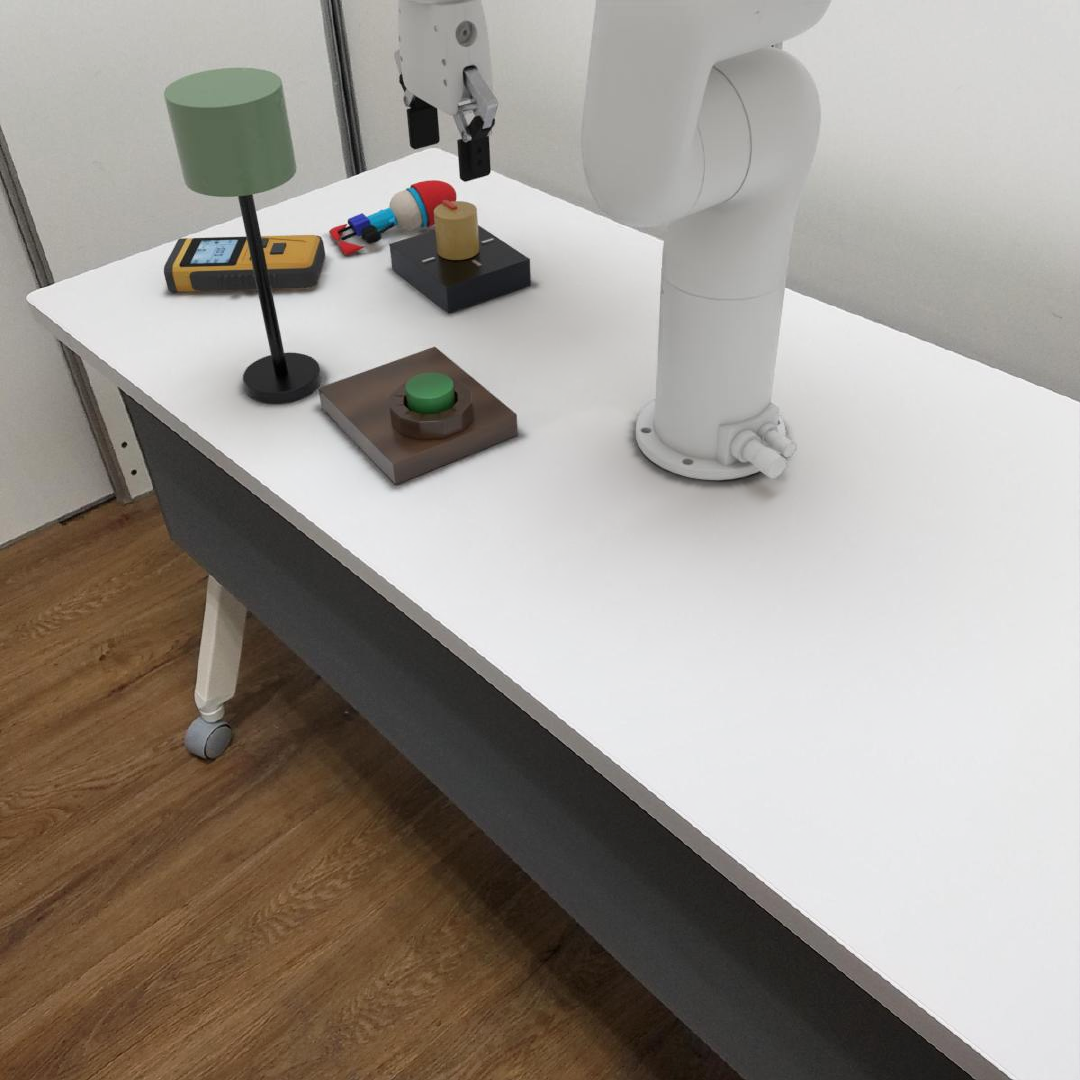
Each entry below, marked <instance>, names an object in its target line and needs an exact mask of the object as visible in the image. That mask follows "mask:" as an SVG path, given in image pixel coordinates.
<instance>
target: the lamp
mask: <svg viewBox="0 0 1080 1080" xmlns="http://www.w3.org/2000/svg"><path fill="white" fill-rule="evenodd" d="M163 98H164V102H165V105H166V109H167V114H168V119H169V122H170V127H171V131H172V135H173V138H174V139H173V140H174V144H175V148H176V151H177V156H178V160H179V164H180V168H181V172H182V173H181V174H182V177H183V181H184V184H185V185H186V187H187V188H188V189H189V190H191V191H192V192H195V193H197V194H200V195H203V196H209V197H216V198H234V197H237V199H238V204H239V208H240V212H241V217H242V222H243V227H244V232H245V237H247V242H248V247H249V252H250V256H251V261H252V266H253V271H254V276H255V280H256V285H257V290H256V291H257V294H258V300H259V303H260V308H261V314H262V318H263V323H264V328H265V333H266V337H267V342H268V347H269V351H270V352H269V353H270V354H269V355H266V356H263V357H261V358H258V359H257V360H254V362H251V363H250V364H249V365H248V366H247V367H246V368H245V370H244V372H243V375H242V381H243V385H244V390H245V392H246V394H247V395H248V396H249V397H250V398H251V399H253V400H255V401H256V402H260V403H263V404H269V405H270V404H271V405H276V404H277V405H278V404H279V405H280V404H287V403H288V404H289V403H293V402H296V401H300V400H301V399H304V398H307V397H309V396H310V395H312V394H313V393H314V392H315V391H317V389H318V388H320V385H321V383H322V373H321V368H320V364H319V362H318V361H317V360H316V359H315V358H314V357H312V356H310V355H308V354H304V353H300V352H285V349H284V345H283V340H282V335H281V330H280V329H281V328H280V325H279V324H280V323H279V320H278V314H277V309H276V305H275V300H274V293H273V289H271V284H270V279H269V274H268V269H267V264H266V259H265V254H264V249H263V244H262V239H261V236H262V235H261V229H260V224H259V219H258V215H257V208H256V205H255V198H254V195H257V194H261V193H264V192H268V191H271V190H274V189H276V188H278V187H280V186H282V185H285V184H286V183H288V182H289V181H290V180H291V179H292V178H293V177H295V175H296V173H297V161H296V156H295V151H294V145H293V139H292V138H293V137H292V132H291V128H290V121H289V115H288V109H287V104H286V103H287V102H286V97H285V92H284V87H283V81H282V78H281V77H280V76H279V75H278V74H276V73H274V72H272V71H270V70H266V69H261V68H253V67H225V68H224V67H223V68H215V69H207V70H203V71H199V72H195V73H191V74H188V75H185V76H183V77H181V78H178V79H176V80H175V81H172V82H171V83H169V84H168V85H167V86H166V87H165V88H164V90H163Z"/></svg>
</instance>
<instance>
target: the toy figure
mask: <svg viewBox="0 0 1080 1080" xmlns="http://www.w3.org/2000/svg"><path fill="white" fill-rule="evenodd" d="M457 196H458V195H457V192H456V189H455V188H454V187H453V185H451V184H450V183H448V182H446V181H443V180H437V179H432V180H431V179H430V180H423V181H418V182H415V183H413V184H410V186H409V187H407V188H405V190H401V191H398V192H396V193H395V194H394V195H393V196H392V197H391V199H390V201H389V205H388V207H386V208H384V209H380V210H379V211H377V212H374V213H372V214H370V215H367V216H366V215H365V213H362V212H361V213H359V214H357V215H355V216H352V217H350V218H348V219H347V223H344V224H341V225H337V226H334V227H332V228H331V229H330V230H328V233H329V235H330V236H331V238H332V240H334V241H336V242H337V241H338V242H337V244H338V247H339V249H340V250H341V252H342V253H343V254H344V255H345V256H348V255H353V254H355V253H356V252H358V251H360V250H362V249H364V248H365V245H358V244H355V243H351V242H348V241H346V240H347V239H348V240H349V239H351V238H353V237H355V236H357V237H358V238H360V237H361V239H362V240H363V241H365V242H366V243H367V244H368V245H372V244H374V243H377V242H379V241H380V240H381V239H382V234H384V233H385V232H387V231H388V230H390V229H393V228H396V227H397V226H398V227H399V228H401V229H404V230H408V231H409V230H415V229H418V228H419V227H420V228H422V229H424V228H425V227H427V228H430V227H432V226H435V220H434V209H435V208H436V207H437V206H438V205H440V204H442V201H443V200H448V201H450V202H452V201H457ZM349 230H351V231H352V232H350V233H347V234H346V235H343V233H345V232H347V231H349ZM342 235H343V236H342Z"/></svg>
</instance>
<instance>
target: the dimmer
mask: <svg viewBox="0 0 1080 1080" xmlns="http://www.w3.org/2000/svg"><path fill="white" fill-rule="evenodd" d="M434 220H435V224H434V230H435V231H436V242H437V252H438V254H439V256H441V257H442V258H445V259H448V260H464V259H468V258H471V257H474V256H475V255H477V254H478V252H479V234H478V225H479V220H478V209H477V206H476V205H475V204H474V203H471V202H469V201H463V200H456V201H452V202H450V201H448V200H443V201H442V204H440V205H438V206H437V207H436V208H435V209H434Z"/></svg>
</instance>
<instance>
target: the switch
mask: <svg viewBox="0 0 1080 1080" xmlns="http://www.w3.org/2000/svg"><path fill="white" fill-rule="evenodd" d="M405 389H406V397H407V405H408V408H409V409H410V410H411V411H412V412H416V413H420V414H438V413H441V412H443V411H446V410H448V409H451V408H452V407H453V405H454V403H455V397H454V386H453V381H452V380H451V379H450V378H449V377H448V376H446V375H444V374H440V373H424V374H420V375H417V376H415V377H413V378H411V379H410V380H409V381H408V382H407V384H406V387H405Z"/></svg>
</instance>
